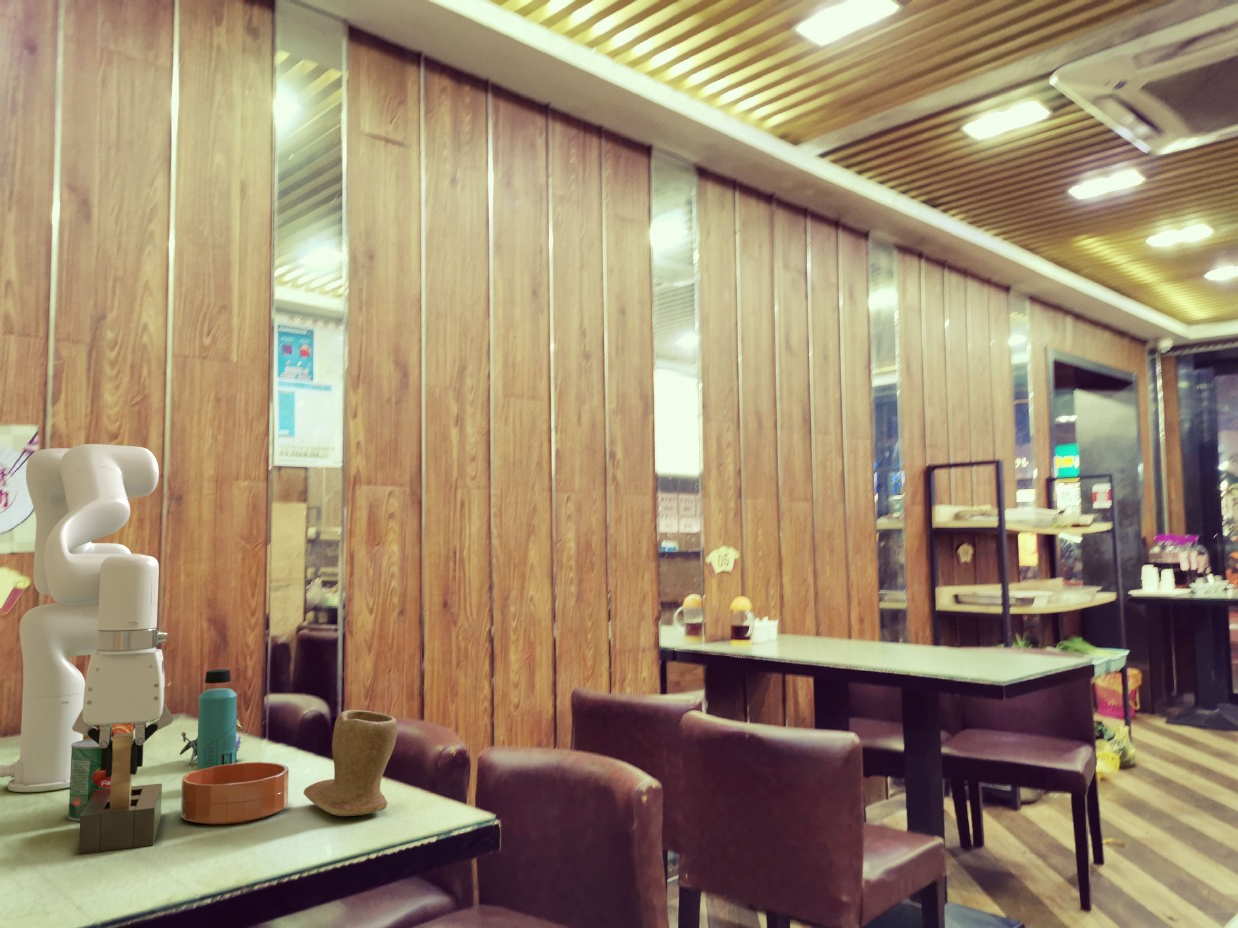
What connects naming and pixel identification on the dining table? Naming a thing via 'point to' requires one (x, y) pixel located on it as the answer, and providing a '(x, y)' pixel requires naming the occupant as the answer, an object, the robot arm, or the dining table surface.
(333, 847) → the dining table surface
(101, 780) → the canned tomato
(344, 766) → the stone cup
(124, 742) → the light brown wooden bar
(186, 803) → the bowl
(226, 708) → the beverage bottle
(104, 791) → the utensil stand
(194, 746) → the passion flower
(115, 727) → the croissant
